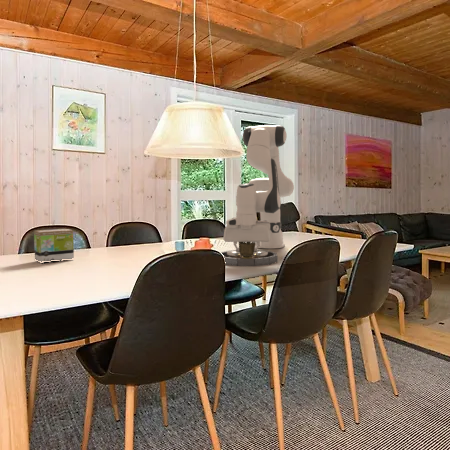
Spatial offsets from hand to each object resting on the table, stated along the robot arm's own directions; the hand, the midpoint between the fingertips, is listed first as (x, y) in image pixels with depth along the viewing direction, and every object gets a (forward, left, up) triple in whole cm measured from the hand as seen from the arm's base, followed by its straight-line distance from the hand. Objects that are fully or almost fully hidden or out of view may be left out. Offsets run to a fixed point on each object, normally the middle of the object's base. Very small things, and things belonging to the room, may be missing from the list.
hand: (246, 252), depth 174 cm
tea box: (-49, -77, -5) cm, 91 cm away
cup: (0, 0, -4) cm, 4 cm away
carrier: (-6, +3, -5) cm, 8 cm away
